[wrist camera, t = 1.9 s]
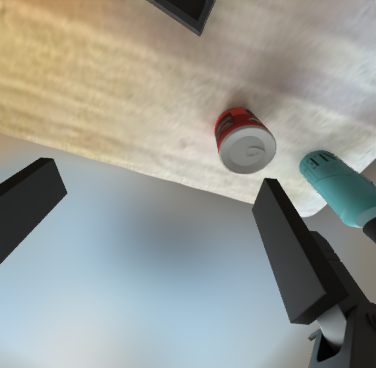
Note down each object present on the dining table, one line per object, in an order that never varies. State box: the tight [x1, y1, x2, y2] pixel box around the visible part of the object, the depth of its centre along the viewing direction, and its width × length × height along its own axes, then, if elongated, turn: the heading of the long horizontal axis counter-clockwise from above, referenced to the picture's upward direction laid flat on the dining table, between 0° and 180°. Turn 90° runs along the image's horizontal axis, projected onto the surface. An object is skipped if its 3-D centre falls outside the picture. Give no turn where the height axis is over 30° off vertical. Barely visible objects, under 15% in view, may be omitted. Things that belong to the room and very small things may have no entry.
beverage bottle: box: [299, 150, 376, 243], centre depth 29 cm, size 6×7×20 cm
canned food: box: [215, 108, 276, 175], centre depth 30 cm, size 8×8×11 cm
